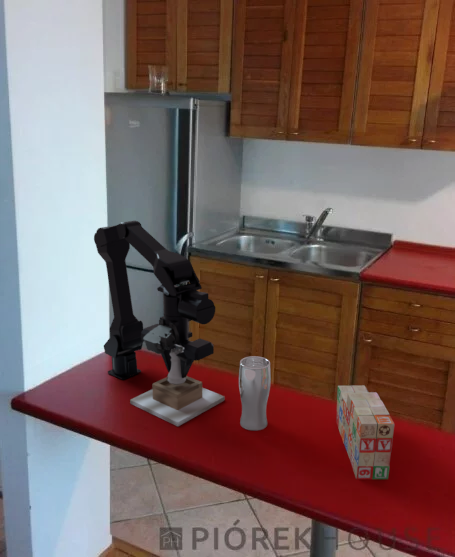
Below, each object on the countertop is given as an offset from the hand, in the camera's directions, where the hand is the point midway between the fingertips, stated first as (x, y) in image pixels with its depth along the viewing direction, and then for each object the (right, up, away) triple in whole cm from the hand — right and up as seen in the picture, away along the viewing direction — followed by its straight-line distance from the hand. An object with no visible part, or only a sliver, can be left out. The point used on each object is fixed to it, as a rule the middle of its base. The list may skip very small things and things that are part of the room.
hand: (176, 374), depth 136 cm
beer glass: (+18, -10, -7) cm, 22 cm away
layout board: (0, -7, +2) cm, 7 cm away
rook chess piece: (0, -2, 0) cm, 2 cm away
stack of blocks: (+40, -13, -16) cm, 45 cm away
